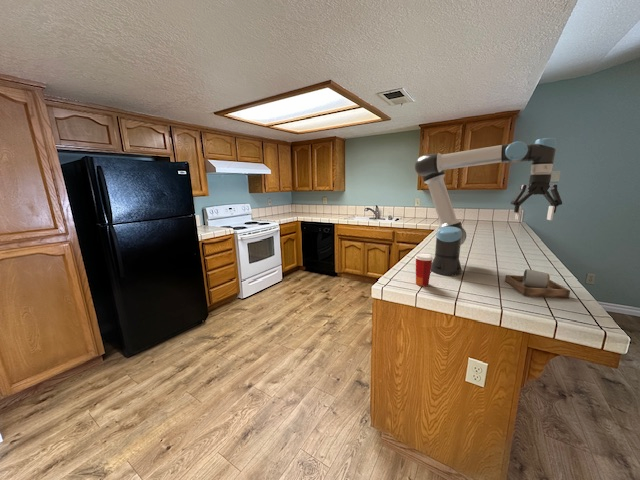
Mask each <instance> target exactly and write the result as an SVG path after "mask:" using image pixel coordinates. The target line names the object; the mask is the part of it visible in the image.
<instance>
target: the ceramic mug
mask: <svg viewBox="0 0 640 480" xmlns="http://www.w3.org/2000/svg"><path fill="white" fill-rule="evenodd" d="M522 276H523V285H524V286H527V287H534V288H547V287H548V285H549V281H550V280H551V279H550V278H551V277H550V274H549V273H548V272H545V271H538V270H535V269H528V268H525V270H524V272H523V275H522Z"/></svg>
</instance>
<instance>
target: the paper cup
mask: <svg viewBox="0 0 640 480" xmlns="http://www.w3.org/2000/svg"><path fill="white" fill-rule="evenodd" d="M414 258H415V284H416V285H417V286H419V287H428V286H429V284H430V278H431V277H430V276H431V272H432V271H431V264H432V261H433V259H434V257H433V256H432V255H431V254H429V253H417V254H416V255H415V257H414Z"/></svg>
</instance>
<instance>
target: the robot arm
mask: <svg viewBox="0 0 640 480" xmlns="http://www.w3.org/2000/svg"><path fill="white" fill-rule="evenodd" d="M557 143H558V142H557V139H556V138H555V137H544V138H538V139H536V140H535V142H534V143H532V144H527V143H525V142H524V141H520V140H518V141H513V142H512V143H505V144H500V145H494V146H488V147H480V148H474V149H467V150H464V151H463V150H462V151H458V152H457V151H456V152H451V153H444V154H441V152H438V153H427V154H423V155H420V156H418V158H417V159H416V161H415V163H414V170H415V172H416V174H418V175H419V176H420V177H421V178H422V181H423V183H424V184H426V186H427V187H428V190H429V193H430V196H431V200H432V203H433V205H434V209H435V212H436V214H437V218H438V221H439V226H438V229H437V231H436V237H435V238H436V240H435V250H434V251H435V252H434V256H433V260H432V264H431V271H430V272H433V273H435V274H437V275H443V276H451V277H452V276H453V277H454V276H460V275H461V274H462V271H463V270H462V269H463V268H462V265H461V261H460V254H461V246H462V245H463V244H464V243H465V241H466V239H467V232H466V230H465V229H464V228H463V225H462V221H461V220H459V219H457V217H456V213H455V211H454V207H453V204H452V201H451V198H450V196H449V192H448V190H447V189H448V188H447V186H446V183H445V179H444V178H445V176H446V172H445V170H446V171H447V170H453V169H458V168H460V169H461V168H466V167H474V166H483V165H489V164H490V165H491V164H498V163H508V164H510V163H523V162H524V163H525V162H532V163H531V166H530V167H531V168H530V175H529V180H528V185H527V184H521V185H520V186H519V187H520V188H519V190H518V191H517V193H516V194H515V196H514V197H513V199H512V200H511V202H510V205H513V206H514V210H513V212H514V220H517V221H520V219H521V213H522V206H521V205H522V204H524V202H525V201H527V199H529V198H530V197H532V196H533V195H536V196H537V195H540V196H541V195H542V196H543V197H544V198H545V199H546V200H547V202H548V203H549V204H550V205H549V206H548V210H547V216H546V220H548V221H553V217H554V214H555V213H556V212H557V207H559V206H561V205H563V201H562V198H561V195H560V194H559V193H560V192H559V191H558V184H550V183H551V179H552V174H551V173H553V172H552V171H553V165H554V162H555V156H556V150H557ZM526 190H527V191H526ZM548 190H550V191H548ZM524 193H525V194H524ZM523 194H524V195H523Z"/></svg>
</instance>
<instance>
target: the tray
mask: <svg viewBox="0 0 640 480" xmlns="http://www.w3.org/2000/svg"><path fill="white" fill-rule="evenodd" d="M504 276H505V277H504V283H505V284H507V286H510V287H511V288H512V289H514V290H515V291H516V292H518V293H519V294H521V295H522V296H523V297H534V298H535V297H537V298H550V299H551V298H552V299H569V298H570V293H571V290H570V289H567V288H566V287H564V286H562V285H560V284H559V283H556V282H555V281H553V280H552V279H550V281H549V285H548V287H547V288H534V287H527V286H524V285H523V275H515V274H514V275H513V274H512V275H511V274H506V275H504Z"/></svg>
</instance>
